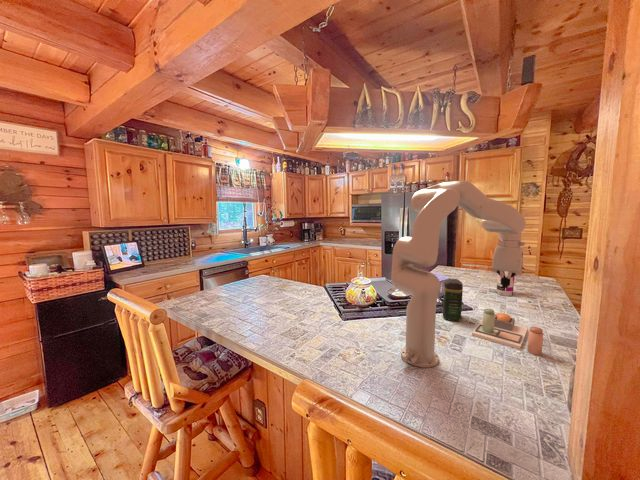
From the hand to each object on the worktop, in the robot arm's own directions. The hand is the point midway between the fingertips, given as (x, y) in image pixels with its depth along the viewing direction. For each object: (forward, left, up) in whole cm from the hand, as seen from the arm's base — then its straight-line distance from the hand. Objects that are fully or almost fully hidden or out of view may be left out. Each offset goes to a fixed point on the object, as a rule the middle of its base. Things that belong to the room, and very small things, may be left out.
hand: (505, 286), depth 111 cm
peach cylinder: (-14, -12, -19) cm, 26 cm away
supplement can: (+53, +8, -19) cm, 57 cm away
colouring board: (-5, 0, -19) cm, 19 cm away
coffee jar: (-2, +20, -19) cm, 27 cm away
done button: (0, 0, -17) cm, 17 cm away
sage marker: (-9, +3, -17) cm, 20 cm away
